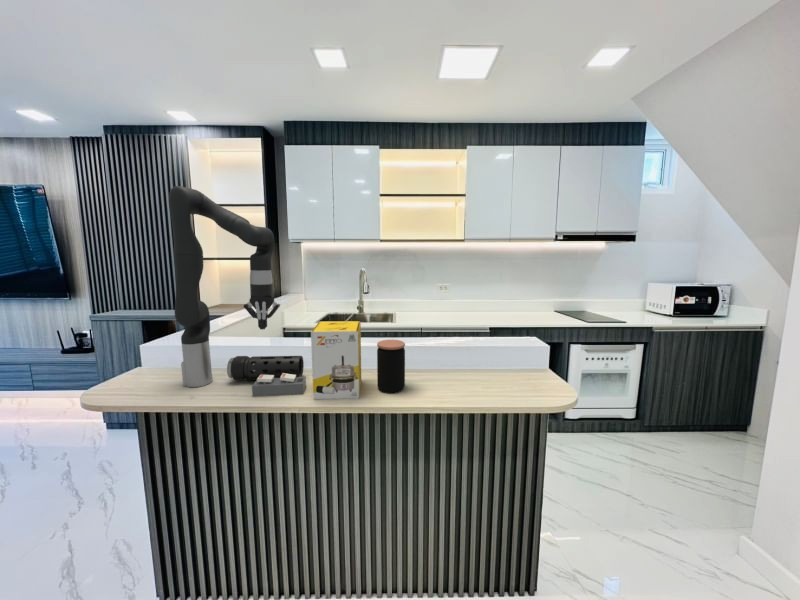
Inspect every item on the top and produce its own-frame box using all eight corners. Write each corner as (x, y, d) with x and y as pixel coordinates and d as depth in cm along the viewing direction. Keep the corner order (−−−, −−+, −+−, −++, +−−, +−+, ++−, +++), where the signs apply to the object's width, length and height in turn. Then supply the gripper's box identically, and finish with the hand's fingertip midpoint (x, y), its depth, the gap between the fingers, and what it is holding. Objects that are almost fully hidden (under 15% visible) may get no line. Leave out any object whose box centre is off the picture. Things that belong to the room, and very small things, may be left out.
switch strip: (252, 396, 120) (251, 385, 120) (258, 388, 127) (257, 377, 127) (303, 394, 123) (302, 382, 122) (306, 386, 130) (305, 375, 129)
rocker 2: (279, 379, 122) (280, 376, 122) (282, 375, 126) (282, 372, 126) (293, 382, 123) (294, 378, 123) (295, 377, 127) (296, 374, 127)
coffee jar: (409, 385, 131) (409, 341, 128) (397, 396, 121) (397, 348, 118) (385, 380, 135) (385, 338, 133) (372, 390, 126) (371, 345, 123)
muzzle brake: (298, 384, 132) (297, 359, 130) (226, 385, 130) (224, 360, 129) (304, 375, 141) (303, 351, 140) (237, 376, 140) (235, 353, 138)
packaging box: (313, 399, 118) (310, 331, 114) (321, 381, 134) (319, 321, 130) (359, 398, 119) (357, 331, 115) (361, 380, 135) (360, 321, 131)
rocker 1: (257, 381, 121) (257, 378, 121) (260, 377, 125) (260, 374, 125) (271, 382, 122) (271, 378, 122) (274, 378, 126) (274, 374, 126)
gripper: (238, 283, 116) (240, 331, 118) (277, 283, 117) (278, 331, 120) (245, 281, 123) (247, 326, 126) (282, 281, 125) (283, 326, 127)
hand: (262, 328), depth 123 cm, fingers closed
